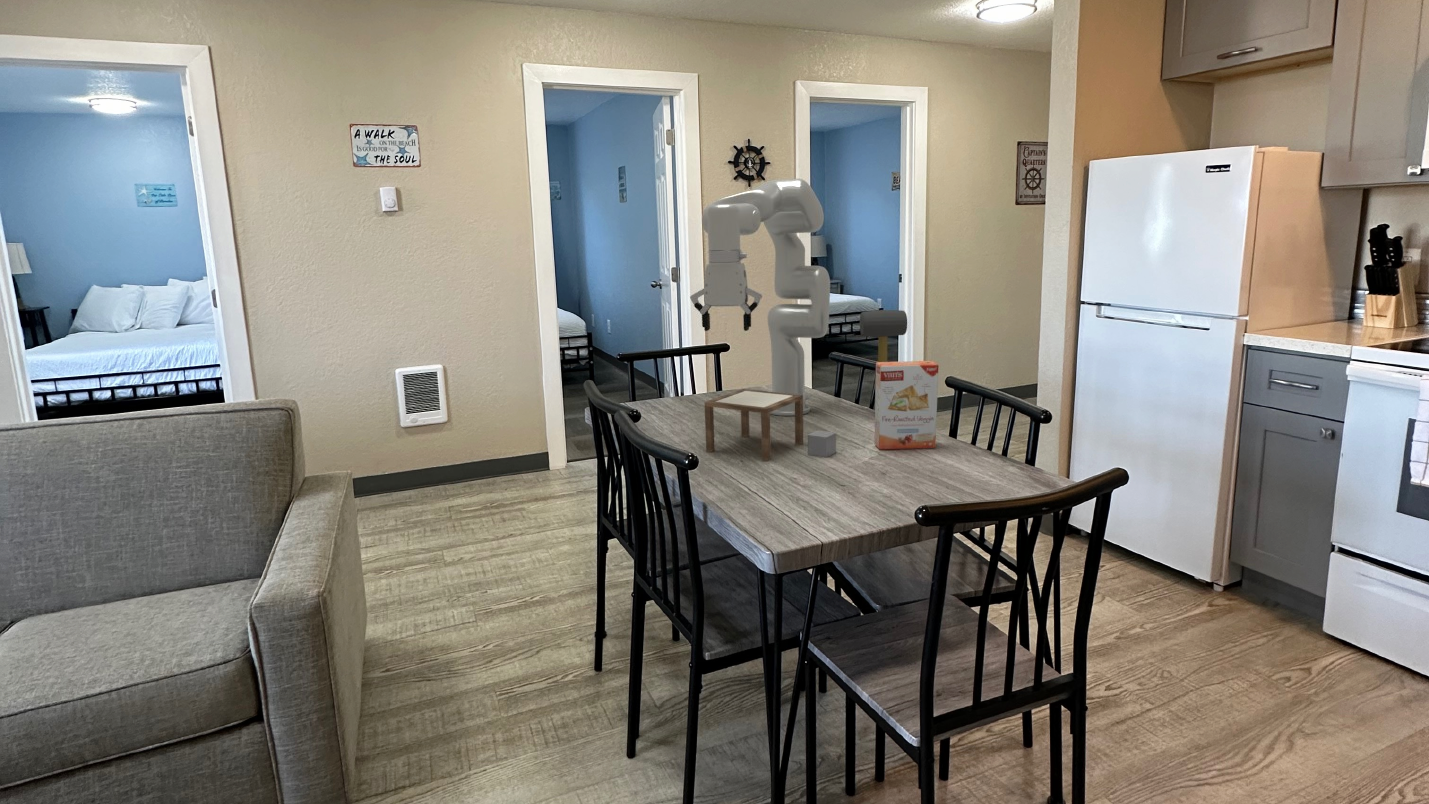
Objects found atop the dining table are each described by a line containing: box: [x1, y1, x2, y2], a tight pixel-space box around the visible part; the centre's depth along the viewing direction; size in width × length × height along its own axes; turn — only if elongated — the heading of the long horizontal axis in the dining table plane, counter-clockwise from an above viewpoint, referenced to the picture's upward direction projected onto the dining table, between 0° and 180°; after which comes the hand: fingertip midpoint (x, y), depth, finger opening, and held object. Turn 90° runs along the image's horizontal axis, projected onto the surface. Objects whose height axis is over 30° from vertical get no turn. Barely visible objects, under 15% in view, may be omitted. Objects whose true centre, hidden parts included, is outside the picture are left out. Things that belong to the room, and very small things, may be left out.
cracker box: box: [874, 360, 939, 450], centre depth 197 cm, size 14×6×21 cm, turn 91°
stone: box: [807, 430, 837, 458], centre depth 195 cm, size 5×5×5 cm
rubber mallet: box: [859, 309, 908, 362], centre depth 228 cm, size 12×8×30 cm, turn 90°
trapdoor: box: [715, 391, 792, 407], centre depth 200 cm, size 14×14×1 cm
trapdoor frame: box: [704, 388, 804, 462], centre depth 201 cm, size 18×18×12 cm
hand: (726, 330), depth 195 cm, fingers open, 9 cm apart
